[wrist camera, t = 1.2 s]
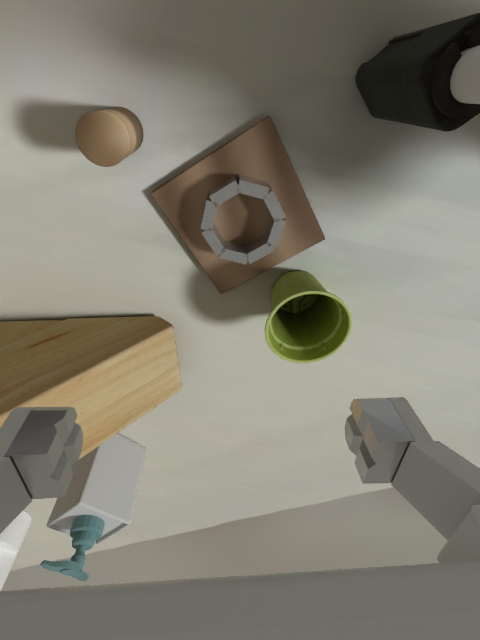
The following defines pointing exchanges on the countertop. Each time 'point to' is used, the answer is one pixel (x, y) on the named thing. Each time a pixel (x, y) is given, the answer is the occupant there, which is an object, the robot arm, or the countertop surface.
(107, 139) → the oak dowel
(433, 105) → the candle
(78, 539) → the soap bottle
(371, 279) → the countertop surface
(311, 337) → the plant pot
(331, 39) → the countertop surface
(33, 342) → the knife block
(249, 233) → the walnut board
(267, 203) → the steel ring
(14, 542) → the base with upright slab
